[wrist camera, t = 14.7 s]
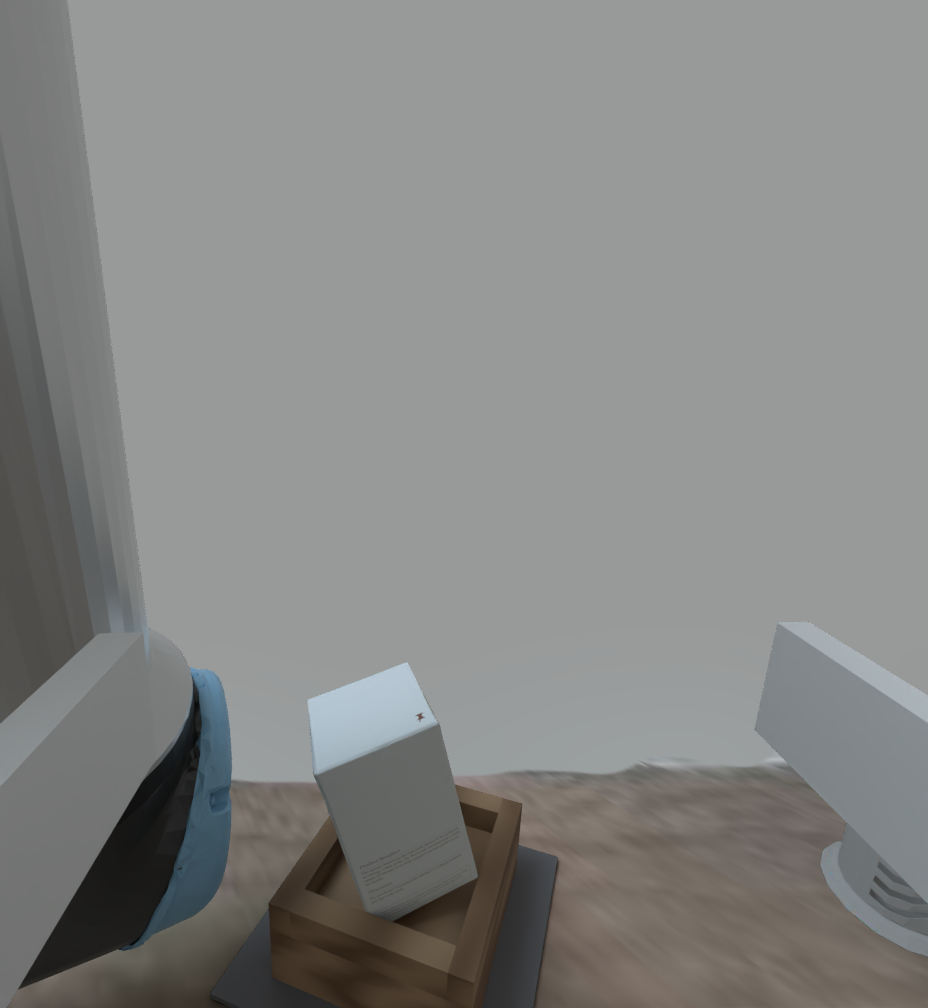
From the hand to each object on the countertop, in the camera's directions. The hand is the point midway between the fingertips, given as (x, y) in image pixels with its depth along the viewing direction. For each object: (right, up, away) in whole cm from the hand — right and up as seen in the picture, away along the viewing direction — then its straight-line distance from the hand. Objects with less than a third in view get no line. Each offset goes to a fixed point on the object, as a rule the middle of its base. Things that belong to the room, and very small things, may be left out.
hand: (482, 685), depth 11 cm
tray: (-4, -26, +27) cm, 37 cm away
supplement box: (-4, -21, +26) cm, 33 cm away
